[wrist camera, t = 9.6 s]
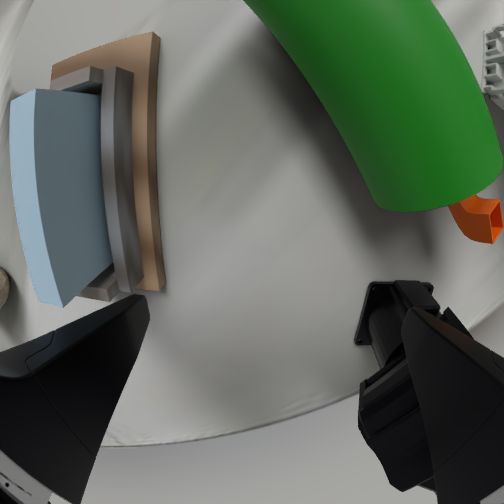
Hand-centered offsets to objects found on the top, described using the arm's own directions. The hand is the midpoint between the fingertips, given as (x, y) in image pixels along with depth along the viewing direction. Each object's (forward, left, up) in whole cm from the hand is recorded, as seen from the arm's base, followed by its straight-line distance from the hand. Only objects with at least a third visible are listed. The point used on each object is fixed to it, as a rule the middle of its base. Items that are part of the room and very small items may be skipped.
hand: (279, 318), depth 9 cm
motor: (+18, -1, -8) cm, 20 cm away
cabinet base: (+4, +14, -12) cm, 19 cm away
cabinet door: (+3, +13, -10) cm, 17 cm away
